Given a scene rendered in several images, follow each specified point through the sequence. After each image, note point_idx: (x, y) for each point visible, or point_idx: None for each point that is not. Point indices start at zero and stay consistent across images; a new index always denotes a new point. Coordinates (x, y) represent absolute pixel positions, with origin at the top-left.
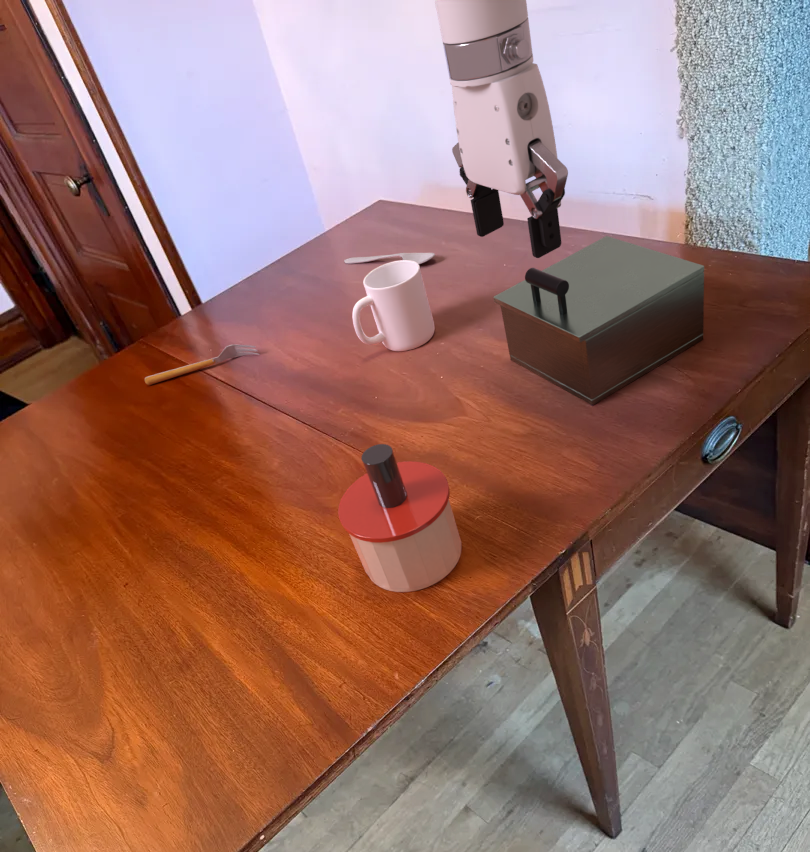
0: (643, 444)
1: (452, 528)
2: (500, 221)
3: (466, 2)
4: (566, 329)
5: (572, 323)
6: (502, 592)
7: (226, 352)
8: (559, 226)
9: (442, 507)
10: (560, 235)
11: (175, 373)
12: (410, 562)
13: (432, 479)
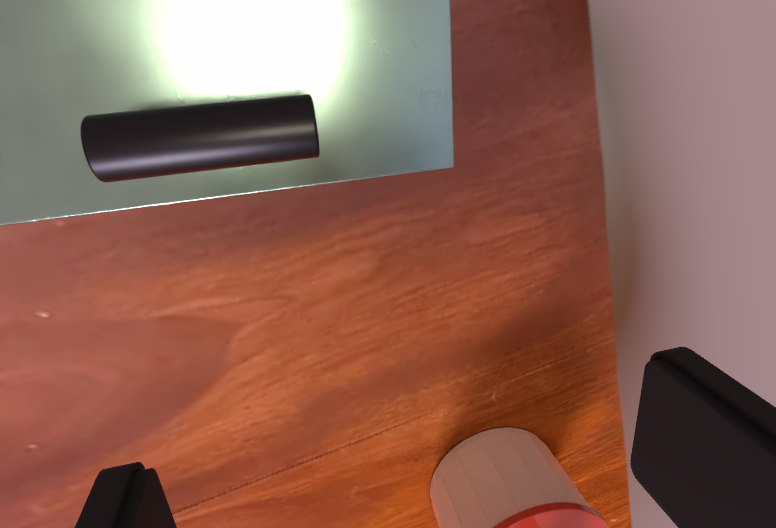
0: (555, 123)
1: (560, 471)
2: (146, 506)
3: None
4: (394, 170)
5: (379, 138)
6: (614, 413)
7: None
8: (769, 404)
9: (607, 523)
10: (721, 371)
11: None
12: None
13: (552, 524)
